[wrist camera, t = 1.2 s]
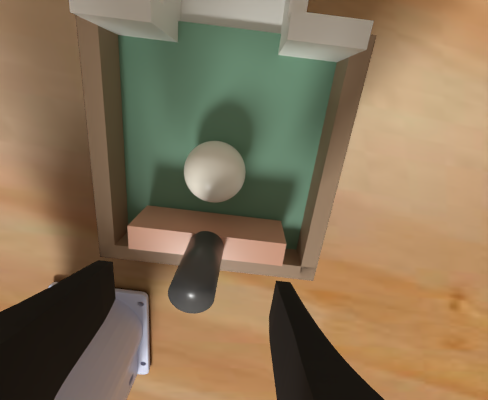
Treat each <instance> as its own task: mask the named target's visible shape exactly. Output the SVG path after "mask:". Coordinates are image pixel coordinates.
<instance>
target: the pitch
mask: <svg viewBox="0 0 488 400" xmlns="http://www.w3.org/2000/svg"><path fill="white" fill-rule="evenodd" d="M308 1H309V0H69V7H70V13H73V14H75V15H76V24H77V34H78V43H79V53H80V63H81V73H82V83H83V92H84V102H85V112H86V122H87V132H88V141H89V151H90V161H91V171H92V181H93V190H94V200H95V210H96V220H97V230H98V239H99V249H100V257H108V258H116V259H125V260H134V261H143V262H152V263H160V264H169V265H178V266H179V264H180V262H181V259H182V257H183V255H180V254H171V253H162V252H153V251H144V250H136V249H129V247H128V229H127V226H128V225H129V224H130V223H131V222H132V220H133V219H134V218H135V217H136V216H137V215H138V214H139V213H140V212H141V211H142V210H143V209H144V208H145V207H146V206H147V205H149V206H157V207H166V208H175V209H183V210H192V211H200V212H209V213H218V214H226V215H235V216H243V217H252V218H261V219H269V220H278V221H281V223H282V227H283V231H284V236H285V240H286V249H285V254H284V259H283V264H282V266H276V265H267V264H259V263H250V262H241V261H232V260H224V259H222V260H221V266H220V270H222V271H231V272H240V273H249V274H258V275H266V276H275V277H284V278H293V279H302V280H311V281H313V280H314V276H315V272H316V268H317V264H318V260H319V256H320V253H321V249H322V245H323V241H324V237H325V233H326V229H327V225H328V221H329V218H330V214H331V210H332V206H333V202H334V198H335V194H336V190H337V187H338V183H339V179H340V175H341V171H342V167H343V163H344V159H345V155H346V152H347V148H348V144H349V140H350V136H351V132H352V128H353V124H354V121H355V117H356V113H357V109H358V105H359V101H360V97H361V93H362V89H363V86H364V82H365V78H366V74H367V70H368V66H369V62H370V58H371V55H372V51H373V47H374V43H375V39H376V35H370V34H371V30H372V26H373V22H374V21H372V20H365V19H357V18H349V17H341V16H333V15H325V14H317V13H310V12H307V7H308ZM208 141H221V142H224V143H227V144H229V145H231V146H232V147H234V148H235V149H236V150H237V151H238V152H239V154H240V155H241V157H242V159H243V161H244V164H245V170H246V174H245V180H244V183H243V185H242V187H241V189H240V190H239V192H238V193H237V194H236V195H235V196H233V197H232V198H230V199H228V200H226V201H223V202H217V203H213V202H207V201H204V200H202V199H200V198H198V197H197V196H195V195H194V194H193V193H192V192H191V191H190V189H189V188H188V186H187V184H186V181H185V178H184V165H185V161H186V159H187V157H188V155H189V154H190V152H191V151H192V150H193V149H194V148H195V147H197V146H198V145H200V144H202V143H204V142H208Z"/></svg>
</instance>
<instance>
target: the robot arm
mask: <svg viewBox="0 0 488 400" xmlns="http://www.w3.org/2000/svg"><path fill="white" fill-rule="evenodd" d="M141 302H143V303H141ZM269 335H270V347H271V355H272V363H273V371H274V379H275V387H276V395H277V400H384V399H383V398H382V397H381V396H380V395H379V394H378V393H377V392H376V391H375V390H373V389H372V388H371V387H370V386H369V385H368V384H367V383H366V382H365V381H364V380H363V379H362V378H361V377H360V376H359V375H358V374H357V373H356V372H355V371H354V369H353V368H352V367H351V366H350V365H349V364H348V363H347V362H346V361H345V360H344V359H343V357H342V356H341V355H340V354H339V353H338V352H337V350H336V349H335V348H334V347H333V345H332V344H331V343H330V342H329V340H328V339H327V338H326V336H325V335H324V334H323V332H322V331H321V330H320V328H319V327H318V326H317V324H316V323H315V321H314V320H313V318H312V317H311V315H310V314H309V312H308V311H307V309H306V308H305V306H304V305H303V303H302V301H301V300H300V298H299V296H298V295H297V293H296V291H295V289H294V288H293V286H292V284H291V283H290V282H282V281H276V284H275V289H274V294H273V300H272V305H271V310H270V315H269ZM149 370H150V345H149V305H148V295H147V293H145V292H142V291H133V290H124V289H115V285H114V273H113V262H108V261H100V260H98V261H96V262H94V263H92V264H91V265H89V266H87V267H85V268H83V269H82V270H80V271H78V272H76V273H74V274H73V275H71V276H69V277H67V278H66V279H64V280H62V281H60V282H53V283H52V284H50V285H49V288H47V289H45V290H43V291H42V292H40V293H38V294H36V295H34V296H32V297H30V298H28V299H26V300H24V301H22V302H20V303H18V304H16V305H14V306H12V307H10V308H8V309H5V310H3V311H1V312H0V400H127V397H128V395H129V392H130V390H131V388H132V385H133V383H134V380H135V378H136V376H137V374H148V373H149Z"/></svg>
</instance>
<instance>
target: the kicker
mask: <svg viewBox="0 0 488 400" xmlns="http://www.w3.org/2000/svg"><path fill="white" fill-rule="evenodd" d="M127 229H128V247H129V249H136V250H144V251H153V252H162V253H171V254H180V255H183V257H182V259H181V262H180V264H179V266H178V269H177V271H176V273H175V275H174V278H173V280H172V282H171V285H170V287H169V290H168V296H169V299H170V301H171V303H172V304H173V305H174V306H175V307H176V308H177V309H179V310H181V311H183V312H186V313H200V312H203V311H205V310H207V309H208V308H210V307H211V305H212V304H213V302H214V297H215V292H216V287H217V281H218V276H219V271H220V266H221V260H222V259H224V260H232V261H241V262H250V263H259V264H267V265H276V266H282V264H283V259H284V254H285V249H286V240H285V236H284V231H283V227H282V223H281V221H278V220H269V219H261V218H252V217H243V216H235V215H226V214H218V213H209V212H200V211H192V210H183V209H175V208H166V207H157V206H149V205H147V206H146V207H145V208H144V209H143V210H142V211H141V212H140V213H139V214H138V215H137V216H136V217H135V218H134V219H133V220H132V222H131V223H130V224H129V225H128V226H127Z"/></svg>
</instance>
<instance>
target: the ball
mask: <svg viewBox="0 0 488 400" xmlns="http://www.w3.org/2000/svg"><path fill="white" fill-rule="evenodd" d="M245 174H246V170H245V164H244V161H243V159H242V157H241V155H240V154H239V152H238V151H237V150H236V149H235V148H234V147H232V146H231V145H229V144H227V143H224V142H221V141H208V142H204V143H202V144H200V145H198V146H197V147H195V148H194V149H193V150H192V151H191V152H190V154H189V155H188V157H187V159H186V161H185V165H184V178H185V181H186V184H187V186H188V188H189V189H190V191H191V192H192V193H193V194H194V195H195V196H197V197H198V198H200V199H202V200H204V201H207V202H213V203H217V202H223V201H226V200H228V199H230V198H232V197H233V196H235V195H236V194H237V193H238V192H239V190H240V189H241V187H242V185H243V183H244V180H245Z"/></svg>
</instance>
